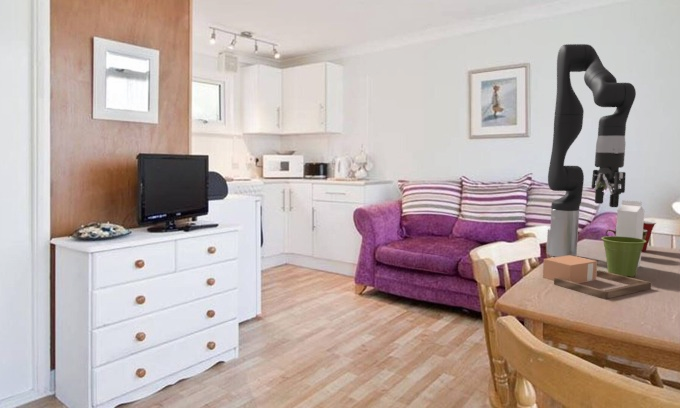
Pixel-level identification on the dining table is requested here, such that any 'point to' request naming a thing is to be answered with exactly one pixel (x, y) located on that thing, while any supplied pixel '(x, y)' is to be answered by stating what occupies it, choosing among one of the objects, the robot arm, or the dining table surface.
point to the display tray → (633, 286)
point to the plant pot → (623, 254)
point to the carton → (570, 269)
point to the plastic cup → (649, 228)
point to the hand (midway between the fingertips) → (606, 205)
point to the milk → (630, 220)
